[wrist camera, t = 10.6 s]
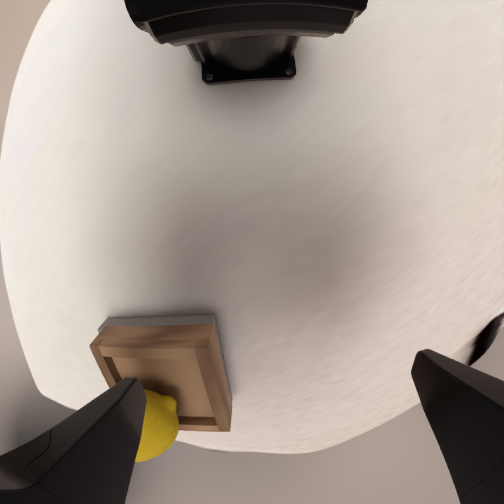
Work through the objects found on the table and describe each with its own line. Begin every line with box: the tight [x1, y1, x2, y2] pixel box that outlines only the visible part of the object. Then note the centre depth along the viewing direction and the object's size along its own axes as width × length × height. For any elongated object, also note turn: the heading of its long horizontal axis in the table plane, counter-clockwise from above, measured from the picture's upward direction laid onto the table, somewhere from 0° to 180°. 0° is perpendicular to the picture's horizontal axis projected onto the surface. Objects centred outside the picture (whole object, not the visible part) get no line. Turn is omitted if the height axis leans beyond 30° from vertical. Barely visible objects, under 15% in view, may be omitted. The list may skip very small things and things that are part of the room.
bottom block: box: [98, 314, 232, 404], centre depth 22 cm, size 10×10×3 cm
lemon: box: [135, 389, 179, 462], centre depth 16 cm, size 6×6×8 cm
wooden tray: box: [89, 323, 232, 432], centre depth 19 cm, size 9×9×3 cm
